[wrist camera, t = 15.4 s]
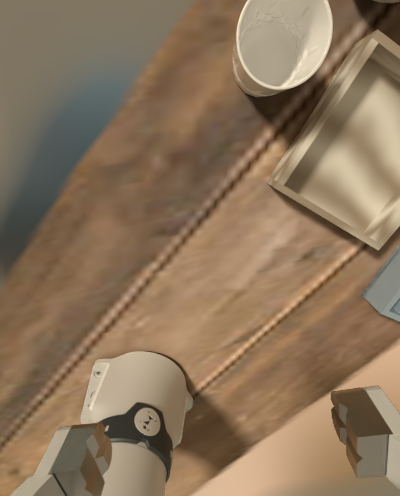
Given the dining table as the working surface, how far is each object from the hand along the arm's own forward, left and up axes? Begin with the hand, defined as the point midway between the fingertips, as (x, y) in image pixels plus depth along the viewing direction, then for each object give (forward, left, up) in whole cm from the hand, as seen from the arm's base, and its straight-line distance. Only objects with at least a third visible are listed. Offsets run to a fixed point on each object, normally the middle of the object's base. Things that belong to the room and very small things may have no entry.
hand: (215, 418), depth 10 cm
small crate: (+5, -29, -31) cm, 43 cm away
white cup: (+18, +3, -31) cm, 36 cm away
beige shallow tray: (+16, -13, -31) cm, 37 cm away
